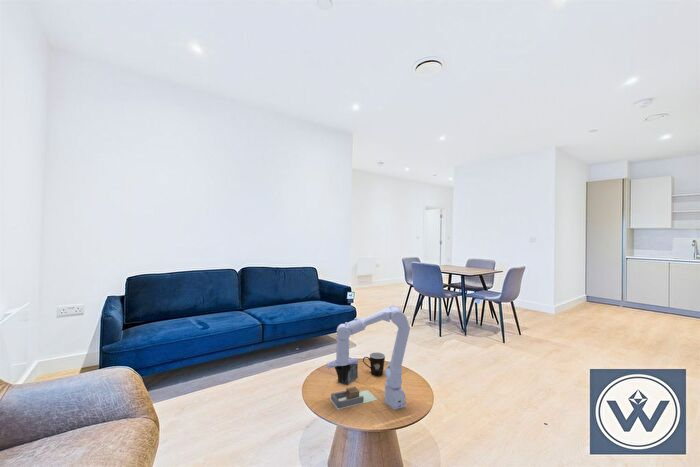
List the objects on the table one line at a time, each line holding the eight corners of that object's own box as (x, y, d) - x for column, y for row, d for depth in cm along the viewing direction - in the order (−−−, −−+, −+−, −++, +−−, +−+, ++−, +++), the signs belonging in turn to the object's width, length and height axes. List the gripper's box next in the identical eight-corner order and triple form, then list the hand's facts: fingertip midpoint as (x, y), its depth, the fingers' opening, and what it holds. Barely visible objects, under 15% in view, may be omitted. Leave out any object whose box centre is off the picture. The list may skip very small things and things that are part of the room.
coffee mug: (387, 372, 168) (387, 354, 168) (380, 378, 161) (380, 360, 161) (369, 367, 174) (369, 350, 174) (361, 372, 167) (362, 355, 167)
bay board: (377, 401, 138) (377, 394, 138) (337, 411, 130) (337, 403, 130) (367, 392, 147) (367, 384, 147) (329, 400, 138) (329, 393, 138)
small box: (347, 375, 163) (348, 356, 163) (358, 379, 160) (358, 359, 160) (337, 383, 154) (337, 363, 154) (347, 387, 151) (348, 366, 151)
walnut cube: (359, 400, 137) (359, 391, 137) (350, 403, 135) (350, 393, 135) (354, 395, 141) (355, 386, 141) (346, 398, 139) (346, 388, 139)
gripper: (353, 346, 142) (352, 374, 142) (324, 350, 136) (323, 380, 136) (360, 351, 136) (359, 381, 136) (330, 356, 130) (329, 387, 130)
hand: (342, 381), depth 136 cm, fingers closed
